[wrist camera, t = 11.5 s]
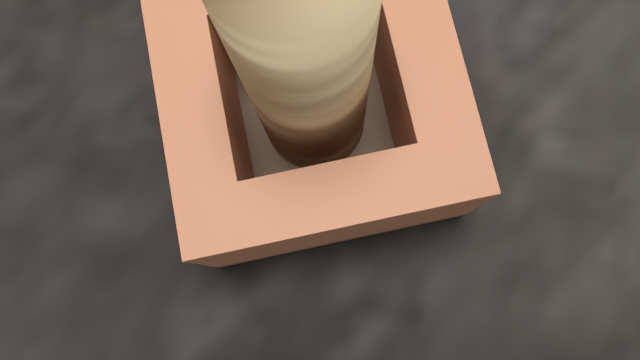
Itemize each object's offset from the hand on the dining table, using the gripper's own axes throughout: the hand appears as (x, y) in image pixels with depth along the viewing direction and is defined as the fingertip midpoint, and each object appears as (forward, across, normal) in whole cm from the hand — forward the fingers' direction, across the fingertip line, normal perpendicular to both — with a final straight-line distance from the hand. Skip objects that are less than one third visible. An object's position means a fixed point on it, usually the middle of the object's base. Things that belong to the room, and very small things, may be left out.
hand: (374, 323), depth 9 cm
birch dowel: (+14, 0, +4) cm, 15 cm away
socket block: (+15, 0, +4) cm, 15 cm away
